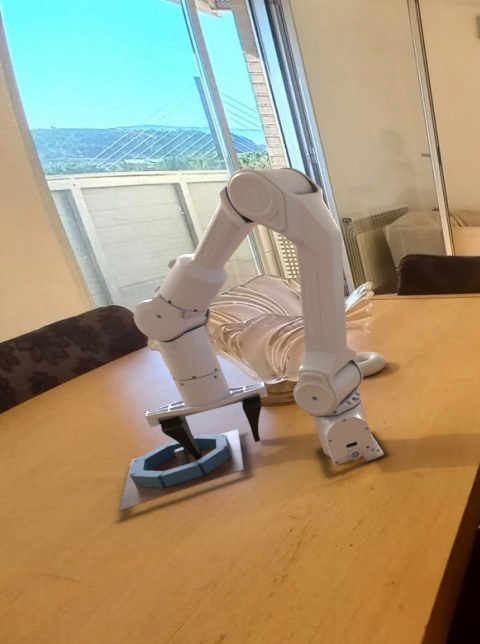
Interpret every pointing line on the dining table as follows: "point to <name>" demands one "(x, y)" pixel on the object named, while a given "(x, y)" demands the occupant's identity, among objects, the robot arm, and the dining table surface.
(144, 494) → the platform
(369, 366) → the donut
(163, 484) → the ring
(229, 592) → the dining table surface
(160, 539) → the dining table surface
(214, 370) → the robot arm
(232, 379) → the dining table surface
